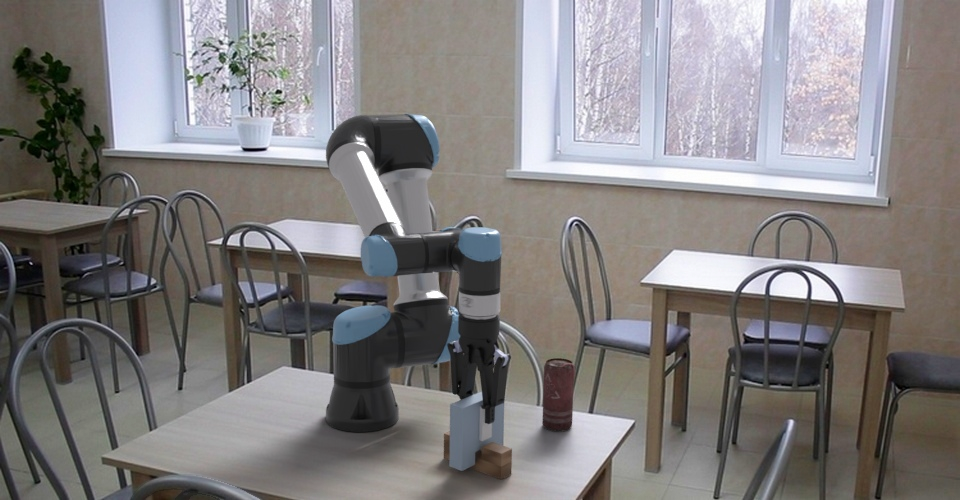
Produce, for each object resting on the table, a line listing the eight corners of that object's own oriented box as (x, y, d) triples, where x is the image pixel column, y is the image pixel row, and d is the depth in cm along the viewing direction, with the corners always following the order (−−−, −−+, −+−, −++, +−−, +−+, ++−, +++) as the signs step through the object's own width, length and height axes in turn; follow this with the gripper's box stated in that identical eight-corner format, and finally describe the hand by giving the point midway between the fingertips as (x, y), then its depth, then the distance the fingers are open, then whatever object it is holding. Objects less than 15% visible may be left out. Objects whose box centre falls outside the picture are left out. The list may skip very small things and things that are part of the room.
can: (571, 433, 199) (573, 367, 196) (540, 430, 201) (542, 365, 198) (574, 422, 205) (577, 358, 202) (544, 419, 206) (546, 356, 204)
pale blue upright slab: (449, 466, 180) (450, 404, 177) (491, 446, 189) (492, 387, 186) (461, 471, 178) (462, 408, 175) (503, 450, 187) (504, 391, 184)
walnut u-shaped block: (443, 458, 187) (443, 433, 186) (454, 453, 189) (454, 428, 188) (501, 479, 178) (501, 453, 177) (511, 474, 180) (511, 448, 179)
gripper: (431, 309, 180) (431, 430, 184) (501, 326, 169) (498, 454, 174) (458, 301, 185) (457, 419, 190) (527, 318, 175) (524, 441, 180)
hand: (477, 435), depth 182 cm, fingers open, 3 cm apart
